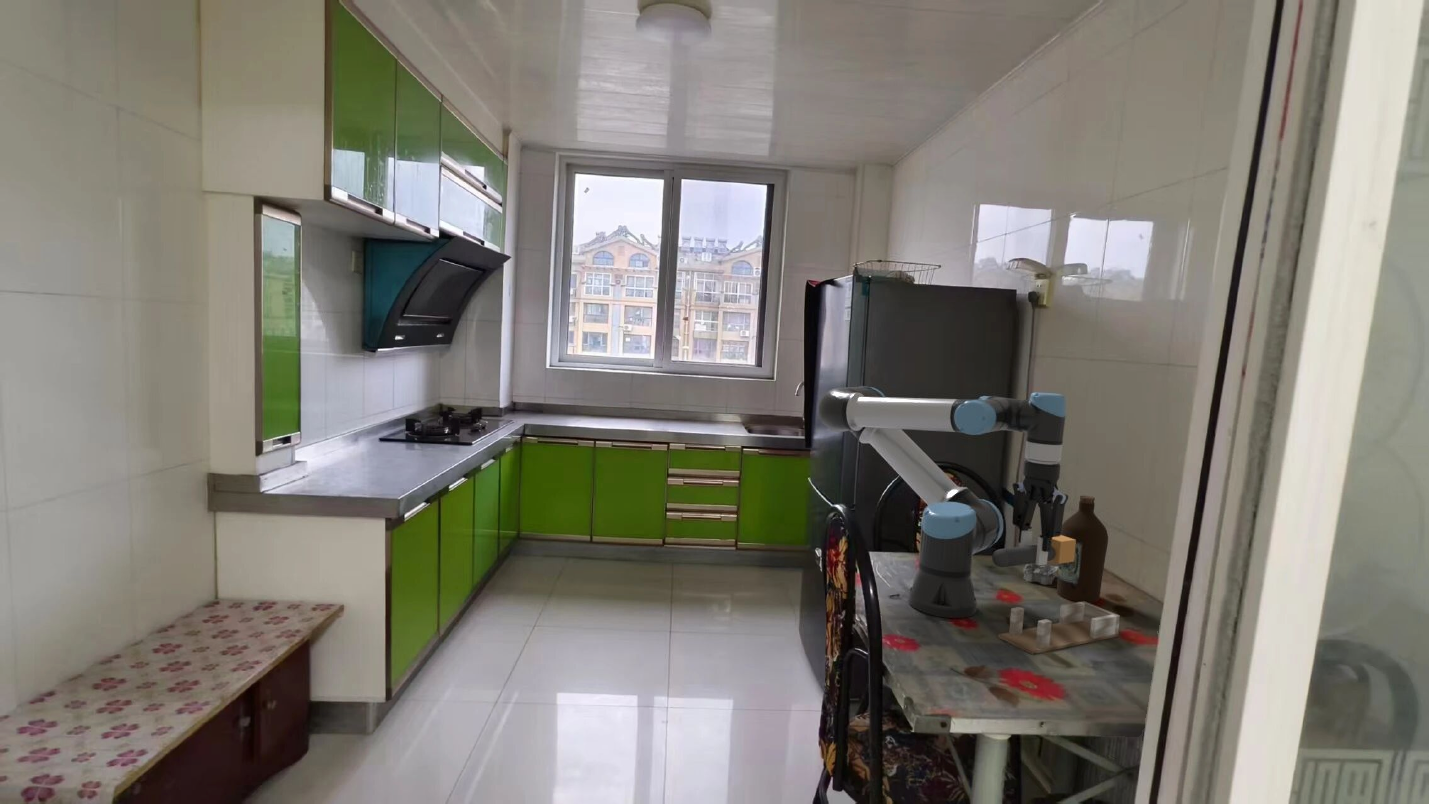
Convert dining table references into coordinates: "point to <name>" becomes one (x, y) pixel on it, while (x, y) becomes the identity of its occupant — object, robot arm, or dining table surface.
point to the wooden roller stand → (1063, 628)
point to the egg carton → (1039, 573)
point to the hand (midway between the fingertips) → (1032, 560)
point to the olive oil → (1083, 555)
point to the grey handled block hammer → (1023, 555)
